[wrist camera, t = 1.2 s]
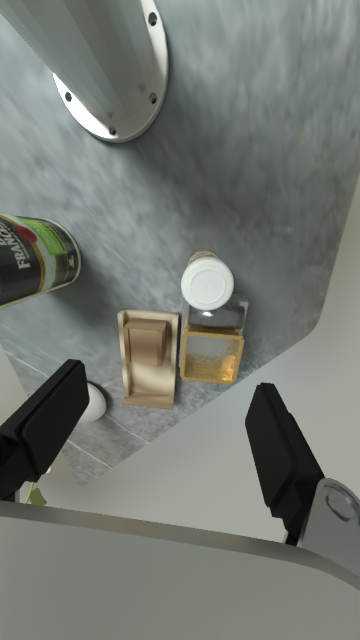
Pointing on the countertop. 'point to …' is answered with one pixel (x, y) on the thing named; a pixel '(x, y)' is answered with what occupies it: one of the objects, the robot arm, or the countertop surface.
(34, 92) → the countertop surface
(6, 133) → the countertop surface
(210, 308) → the sprinkles bottle
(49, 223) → the coffee can
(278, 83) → the countertop surface
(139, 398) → the tray
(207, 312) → the gold open box
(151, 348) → the tan cardboard box
